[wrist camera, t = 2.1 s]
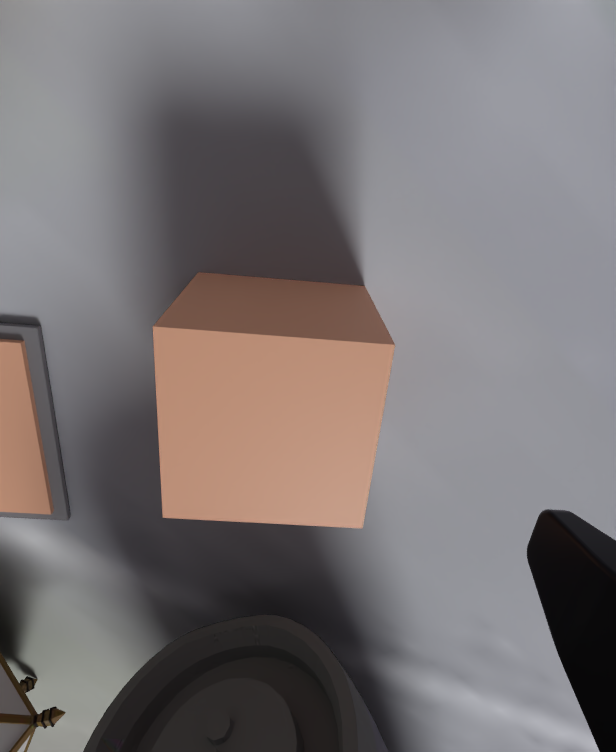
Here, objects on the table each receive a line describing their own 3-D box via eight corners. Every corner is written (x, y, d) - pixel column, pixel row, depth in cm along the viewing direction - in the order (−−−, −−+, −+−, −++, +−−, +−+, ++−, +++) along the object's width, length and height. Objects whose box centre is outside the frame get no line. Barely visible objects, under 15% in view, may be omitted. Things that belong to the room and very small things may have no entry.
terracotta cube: (364, 285, 13) (395, 345, 9) (344, 425, 15) (362, 528, 11) (199, 271, 13) (152, 326, 9) (200, 416, 15) (162, 517, 11)
